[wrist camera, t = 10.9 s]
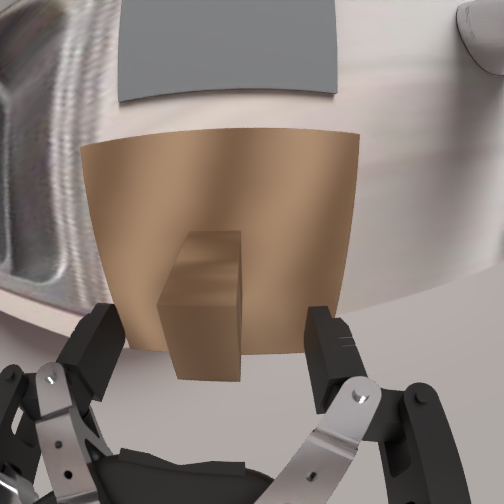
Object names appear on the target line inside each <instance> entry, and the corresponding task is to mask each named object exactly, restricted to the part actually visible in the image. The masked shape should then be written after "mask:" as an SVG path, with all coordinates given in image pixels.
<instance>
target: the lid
mask: <svg viewBox="0 0 504 504" xmlns="http://www.w3.org/2000/svg"><path fill="white" fill-rule="evenodd" d="M359 140H360V134H355V133H347V132H337V131H325V130H311V129H291V128H224V129H204V130H190V131H178V132H168V133H159V134H150V135H143V136H135V137H129V138H122V139H116V140H110V141H105V142H100V143H94V144H89V145H86V146H82V147H80V151H81V160H82V168H83V175H84V182H85V188H86V194H87V200H88V205H89V211H90V216H91V221H92V225H93V230H94V234H95V239H96V243H97V247H98V251H99V255H100V259H101V262H102V266H103V270H104V273H105V277H106V280H107V283H108V287H109V290H110V293H111V296H112V299H113V302H114V305H115V306H116V308H117V311H118V313H119V316H120V319H121V322H122V324H123V327H124V330H125V336H126V338H127V341H128V343H129V346H130V348H131V349H137V350H148V351H160V352H169V353H170V356H171V359H172V363H173V366H174V369H175V372H176V375H177V378H178V379H183V380H199V381H228V382H238V381H239V382H240V375H241V373H240V372H241V371H240V370H241V355H253V354H254V355H255V354H285V353H286V354H288V353H305V350H304V330H305V324H306V317H307V311H308V307H309V306H328V308H329V310H330V313H331V316H332V318H335V314H336V310H337V305H338V300H339V295H340V290H341V285H342V280H343V274H344V269H345V263H346V257H347V251H348V244H349V238H350V231H351V223H352V216H353V208H354V199H355V190H356V180H357V168H358V155H359Z"/></svg>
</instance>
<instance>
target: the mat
mask: <svg viewBox="0 0 504 504" xmlns="http://www.w3.org/2000/svg"><path fill="white" fill-rule="evenodd" d="M222 89H284V90H302V91H314V92H324V93H333V94H336V93H337V35H336V16H335V2H334V0H122V6H121V16H120V29H119V46H118V102H123V101H128V100H133V99H139V98H145V97H151V96H158V95H165V94H173V93H182V92H192V91H205V90H222Z"/></svg>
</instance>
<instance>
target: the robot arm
mask: <svg viewBox="0 0 504 504" xmlns="http://www.w3.org/2000/svg"><path fill="white" fill-rule="evenodd" d="M457 23H458V28H459V31H460V34H461V37H462V39H463V41H464V43H465V46H466V47H467V49H468V51H469V53H470V54H471V55H472V57H473V58H474V60H475V61H476V62H477V63H478V64H479V65H480V66H481V67H482V68H483V69H484V70H485V71H487V72H489V73H491V74H495V75H504V0H475V1H471V2H467V3H464V4H462V5H461V6H459V8H458V11H457ZM124 343H125V330H124V327H123V324H122V322H121V319H120V316H119V313H118V311H117V308H116V306H115V305H114V304H108V303H97V304H96V305H95V307H94V309H93V310H92V312H91V313H90V314H87V315H86V316H85V317H84V318H82V319H81V320H80V321H79V323H78V324H77V326H76V328H75V331H73V333H72V334H71V338H69V339H68V341H67V343H66V344H65V346H64V348H63V350H62V351H61V354H60V355H59V357H58V358H57V360H56V362H50V363H47V364H45V365H43V366H42V367H41V368H40V369H39V370H38V372H37V373H28V374H27V373H26V374H25V373H24V372H23V371H22V369H21V368H20V367H19V366H18V365H15V364H12V365H9V366H7V367H6V368H4V369H3V370H2V372H1V373H0V504H326V502H327V501H328V499H329V498H330V496H331V495H332V493H333V492H334V490H335V489H336V487H337V486H338V484H339V482H340V481H341V479H342V478H343V476H344V474H345V473H346V471H347V469H348V468H349V466H350V464H351V462H352V461H353V459H354V457H355V455H356V453H357V450H358V449H357V448H358V446H359V443H360V441H361V440H363V441H373V442H378V445H379V450H380V455H381V460H382V465H383V471H384V477H385V483H386V488H387V496H388V503H389V504H471V500H470V495H469V491H468V486H467V482H466V478H465V475H464V471H463V467H462V464H461V461H460V457H459V453H458V450H457V447H456V444H455V441H454V438H453V435H452V432H451V429H450V426H449V423H448V421H447V418H446V415H445V412H444V410H443V407H442V405H441V402H440V400H439V397H438V395H437V393H436V391H435V390H434V389H433V388H432V387H431V386H429V385H428V384H425V383H414V384H412V385H410V386H409V387H408V388H407V389H406V390H405V391H397V390H387V389H383V388H380V387H379V385H378V384H377V383H376V382H375V381H373V380H372V379H370V378H368V376H367V374H366V371H365V368H364V365H363V363H362V360H361V357H360V355H359V352H358V349H357V347H356V346H355V341H354V339H353V338H352V334H351V331H350V329H349V326H348V325H347V324H346V323H345V322H344V321H343V320H342V319H341V318H332V316H331V313H330V310H329V308H328V306H309V307H308V311H307V317H306V324H305V330H304V350H305V355H306V359H307V365H308V370H309V375H310V380H311V386H312V391H313V396H314V402H315V407H316V413H317V414H325V415H324V417H323V418H322V420H321V421H320V423H319V424H318V426H317V427H316V428H315V430H313V431H312V432H311V433H310V434H309V436H308V437H307V439H306V440H305V441H304V443H303V444H302V446H301V447H300V448H299V450H298V451H297V452H296V454H295V455H294V456H293V458H292V459H291V460H290V462H289V463H288V464H287V466H286V467H285V468H284V469H283V470H282V472H281V473H280V474H279V475H278V477H277V478H276V479H275V480H274V479H273V478H271V477H269V476H268V475H265V474H263V473H261V472H258V471H255V470H251V469H247V468H245V462H221V461H210V462H202V463H195V464H187V465H176V464H173V463H171V462H168V461H166V460H163V459H161V458H158V457H156V456H153V455H151V454H149V453H144V452H139V451H133V450H129V449H124V448H121V450H120V454H117V455H113V453H112V452H111V450H110V449H109V447H108V446H107V444H106V443H105V441H104V438H103V436H102V433H101V431H100V429H99V426H98V423H97V421H96V418H95V416H94V413H93V410H92V408H91V406H90V403H91V400H95V401H99V402H102V399H103V396H104V394H105V391H106V388H107V386H108V383H109V380H110V378H111V375H112V373H113V370H114V368H115V365H116V363H117V360H118V358H119V355H120V353H121V351H122V348H123V346H124ZM18 407H20V409H21V410H22V411H23V415H22V418H21V420H20V423H19V426H18V428H17V431H16V434H15V435H14V434H13V432H12V429H11V425H12V422H13V419H14V416H15V414H16V411H17V409H18ZM41 452H42V456H43V459H44V463H45V466H46V470H47V473H48V476H49V479H50V482H51V485H52V488H53V491H52V492H50V493H48V494H47V495H45V496H44V497H42V498H40V499H39V496H38V494H37V493H36V492H35V491H34V487H33V484H34V479H35V475H36V471H37V467H38V463H39V460H40V456H41Z"/></svg>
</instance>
